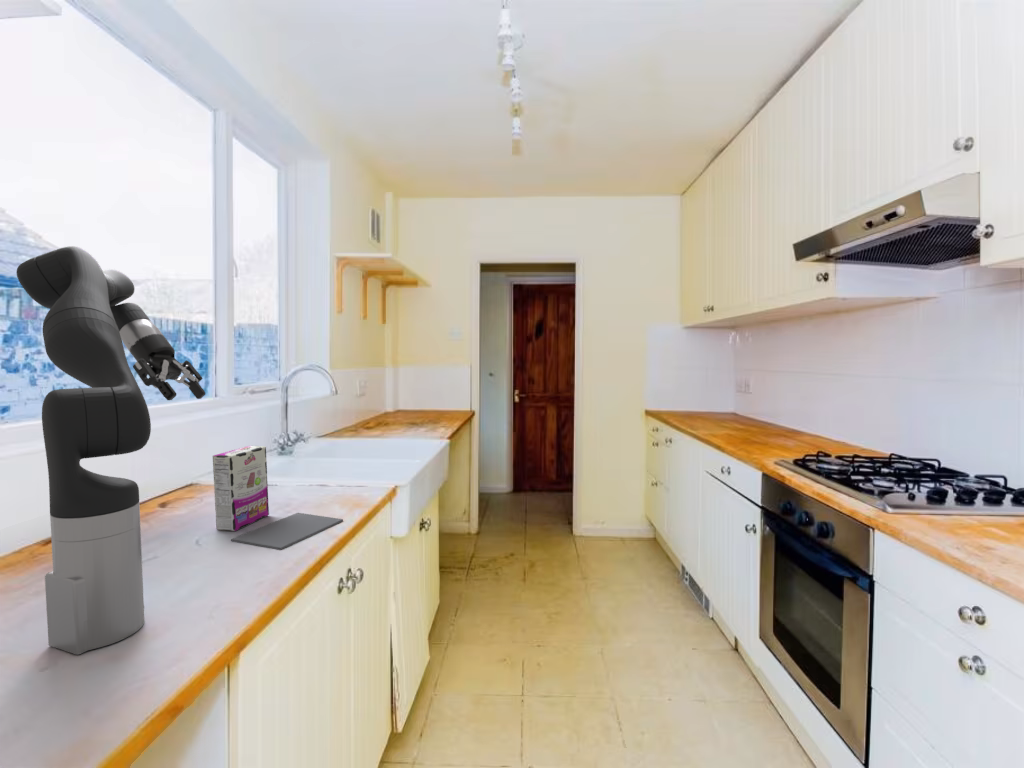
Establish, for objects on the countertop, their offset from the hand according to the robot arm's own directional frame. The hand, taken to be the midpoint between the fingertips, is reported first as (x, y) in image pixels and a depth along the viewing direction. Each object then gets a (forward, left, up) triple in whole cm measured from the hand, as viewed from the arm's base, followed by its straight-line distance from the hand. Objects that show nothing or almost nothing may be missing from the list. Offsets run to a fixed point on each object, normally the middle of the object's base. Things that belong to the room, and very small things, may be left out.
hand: (187, 397), depth 115 cm
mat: (+1, -28, -28) cm, 39 cm away
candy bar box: (+1, -14, -28) cm, 32 cm away
